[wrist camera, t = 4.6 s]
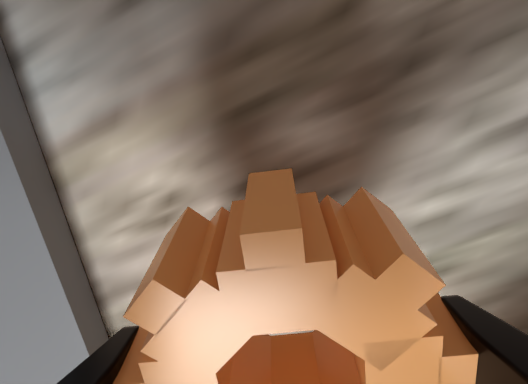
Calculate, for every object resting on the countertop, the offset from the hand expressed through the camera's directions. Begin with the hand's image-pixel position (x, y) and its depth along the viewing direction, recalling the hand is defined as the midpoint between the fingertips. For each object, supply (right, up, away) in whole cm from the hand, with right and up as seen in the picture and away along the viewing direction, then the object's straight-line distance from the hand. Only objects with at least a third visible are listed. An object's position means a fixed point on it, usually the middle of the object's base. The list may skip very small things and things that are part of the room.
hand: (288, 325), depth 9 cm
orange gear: (0, 0, +1) cm, 1 cm away
